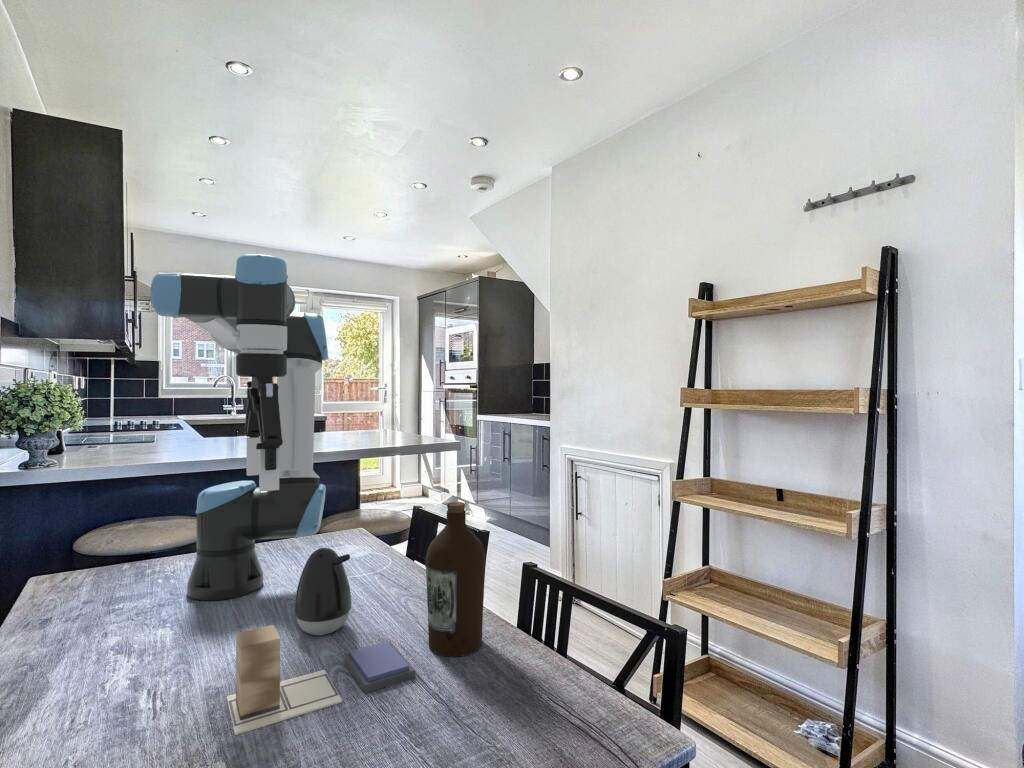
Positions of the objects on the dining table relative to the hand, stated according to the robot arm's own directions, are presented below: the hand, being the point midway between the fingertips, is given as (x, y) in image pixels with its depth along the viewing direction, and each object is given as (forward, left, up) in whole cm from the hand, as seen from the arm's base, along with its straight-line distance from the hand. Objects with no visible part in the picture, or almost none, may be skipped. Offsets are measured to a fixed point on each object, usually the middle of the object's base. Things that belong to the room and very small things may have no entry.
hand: (261, 482), depth 90 cm
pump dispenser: (-8, +12, -30) cm, 33 cm away
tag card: (+13, +1, -30) cm, 33 cm away
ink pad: (+12, +16, -30) cm, 36 cm away
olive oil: (+11, +30, -30) cm, 44 cm away
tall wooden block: (+13, -2, -30) cm, 32 cm away
